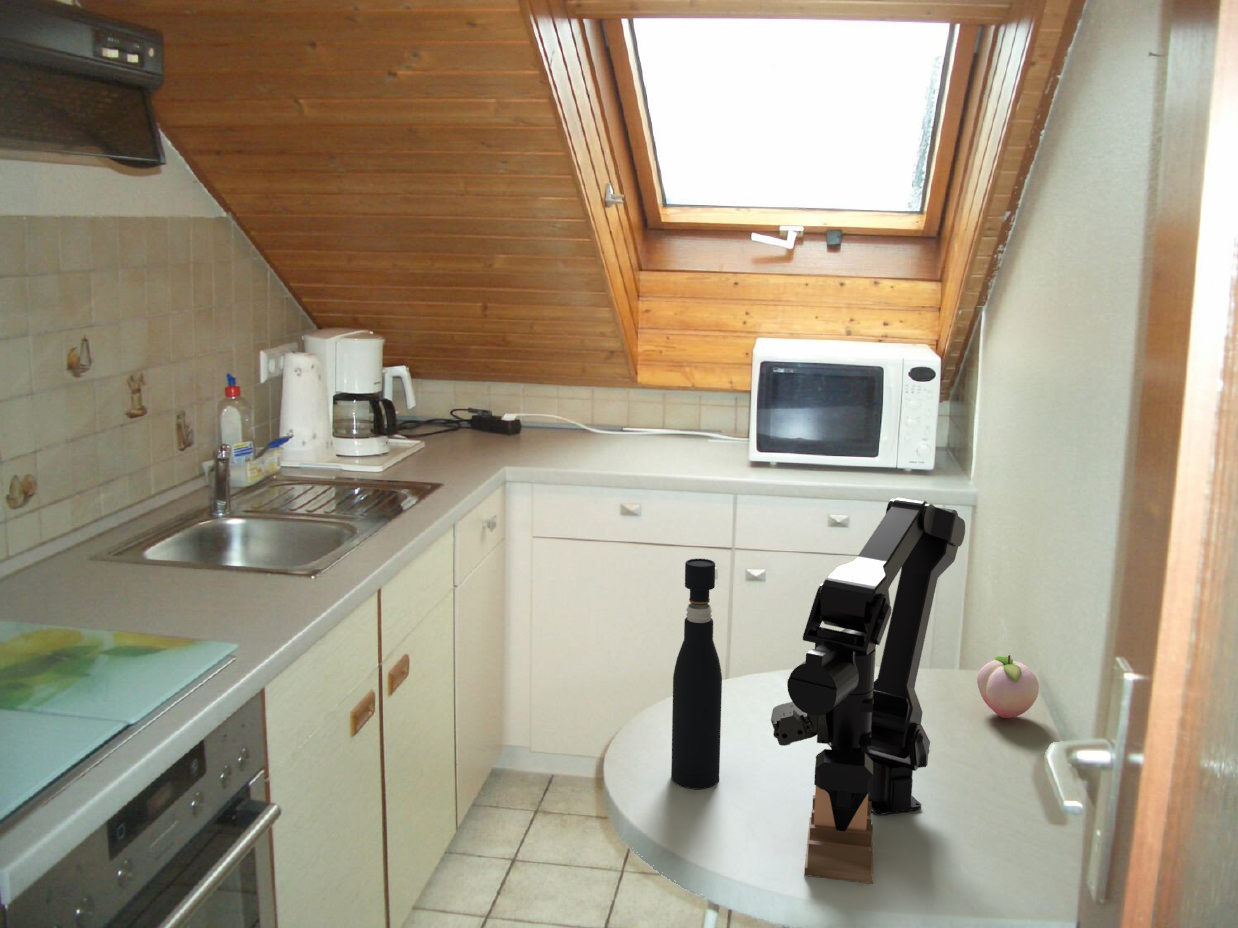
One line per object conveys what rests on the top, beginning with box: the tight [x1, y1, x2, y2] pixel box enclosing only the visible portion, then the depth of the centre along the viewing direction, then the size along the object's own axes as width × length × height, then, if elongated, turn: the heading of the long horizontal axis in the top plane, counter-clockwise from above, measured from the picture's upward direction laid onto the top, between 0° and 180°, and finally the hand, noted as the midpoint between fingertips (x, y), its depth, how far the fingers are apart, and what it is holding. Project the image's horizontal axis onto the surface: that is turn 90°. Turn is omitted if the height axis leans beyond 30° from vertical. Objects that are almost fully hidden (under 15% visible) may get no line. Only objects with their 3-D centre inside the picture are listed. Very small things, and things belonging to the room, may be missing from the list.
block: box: [814, 785, 868, 831], centre depth 133 cm, size 2×6×8 cm, turn 79°
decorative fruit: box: [976, 654, 1040, 719], centre depth 171 cm, size 9×8×10 cm
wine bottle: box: [670, 558, 723, 790], centre depth 149 cm, size 6×6×30 cm
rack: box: [803, 794, 874, 884], centre depth 134 cm, size 12×8×4 cm, turn 168°
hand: (841, 810), depth 133 cm, fingers open, 9 cm apart
